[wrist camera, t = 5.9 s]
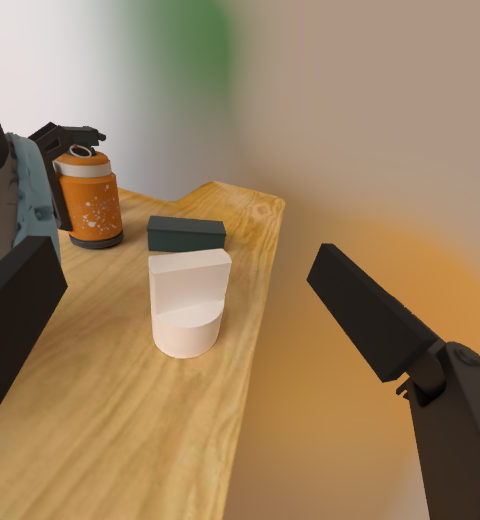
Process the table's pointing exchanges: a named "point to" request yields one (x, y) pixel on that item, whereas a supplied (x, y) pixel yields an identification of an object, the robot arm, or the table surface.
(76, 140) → the canister
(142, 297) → the table surface
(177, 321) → the cylinder with rectangular tab
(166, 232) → the pencil box
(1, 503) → the table surface
